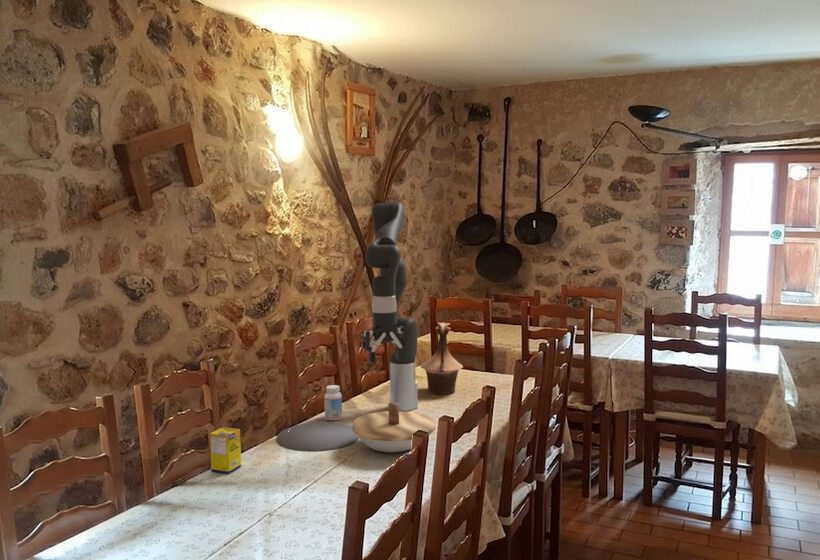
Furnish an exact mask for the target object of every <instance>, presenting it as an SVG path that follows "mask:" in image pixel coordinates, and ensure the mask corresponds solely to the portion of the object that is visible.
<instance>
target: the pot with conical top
mask: <svg viewBox="0 0 820 560" xmlns="http://www.w3.org/2000/svg"><path fill="white" fill-rule="evenodd" d="M437 325H438V326H436V327H435V330H436V333H437V334H438V336H439V337H438V345H437V349H436V351H435V353H434V354H433V355H432V356H431V357H430V358H429V359H428V360H426V361H425V362H423V363H421V365H420V368H422V369H423V370H424V371H425V373H426V380H427V392H428V393H430V394H433V395H434V394H435V395H451V394H454V393H455V392H456V383H457V378H458V374H459V371H460V370H461V369H463V368H464V366H463V365H462V364H461V363H460V362H458V360H457V359H455V358H454V357H453V356H452V354H451V352H450V351H449V347H448V341H447V340H448V339H447V336H448V334H449V332H450V330H451V327H449V326H450V325H451V323H450V322H437Z"/></svg>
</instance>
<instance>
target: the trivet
mask: <svg viewBox="0 0 820 560" xmlns="http://www.w3.org/2000/svg"><path fill="white" fill-rule="evenodd" d="M289 429H290V430H289ZM288 431H289V432H288ZM277 436H278V437H276V439H277V443H278V444H279V443H280V445H281V446H282V447H285V448H288V449H291V450H295V451H302V452H303V451H304V452H322V451H323V452H324V451H331V450H332V451H333V450H338V449H342V448H345V447H347V446H350V445H353V444H354V443H356V442H357V441H359V439H360V438H359V436H357V435H356V434H354V433H353V431H352V425H349V424H346V423H341V422H333V421H332V422H330V421H328V422H327V421H324V422H322V421H318V422H315V421H314V422H308V423H307V422H306V423H301V424H297V425H293V426H290V427H288V428H285V429H283V430H281V431H280V432H279V433H278V434H277Z"/></svg>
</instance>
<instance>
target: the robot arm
mask: <svg viewBox="0 0 820 560" xmlns="http://www.w3.org/2000/svg"><path fill="white" fill-rule="evenodd" d="M405 215H406V214H405V209H404V206H403V204H402V203H401V202H399V201H398V202H397V201H391V202H380V203H376V204H375V203H374V204H373V206H372V209H371V219H372V224H373V225H372V226H373V230H374V235H375V238H374V240H373V241H372V242H371V243H370V245H369V246H368V247H367V248H366V253H365V262H366V263H367V265H368V267H370V268H373V269H379V275H377V276H374V277H373V278H372V282H371V283H372V299H371V300H372V301H371V313H372V314H371V316H372V317H371V318H372V321H371V322H372V329H371V330H366V329H364V330H362V331H363V332H362V349H363V350H365V351H368V361H369V362H370V363H371V364H372V365H375V364H376V363H377V361H376V359H377V358H376V357H377V356H376V350H377V348H378V347H379V346H380V344H386V343H392V344H393V345H394V346H395V347H394V352H392V353H390V355H389V356H390V358H389V386H390V387H389V396H390V397H389V398H390V399H389V403H391V402H396V403H399V411H405V412H410V411H412V410H415V409H418V407H419V405H418V404H419V403H418V398H419V397H418V396H419V395H418V392H419V391H418V389H419V388H418V387H419V386H418V382H417V381H416V357H417V352H418V351H417V350H418V336H419V335H418V334H419V333H418V332H419V329H418V324H417V322H416V320H415V319H413V318H409V317H399V302H400V299H401V297H402V296H403V294H404V292H405V291H406V288H407V283H408V277H407V276H408V275H407V268H406V267H407V266H406V263H405V262H404V260H403V258H402V257H401V256H402V252H401V249H400V248H399V247H398V246H397V244H398V238H399V235H400V234H401V231H402V230H403V228H404V226H405V222H406V216H405ZM372 336H373V338H372ZM371 338H372V339H371Z"/></svg>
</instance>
